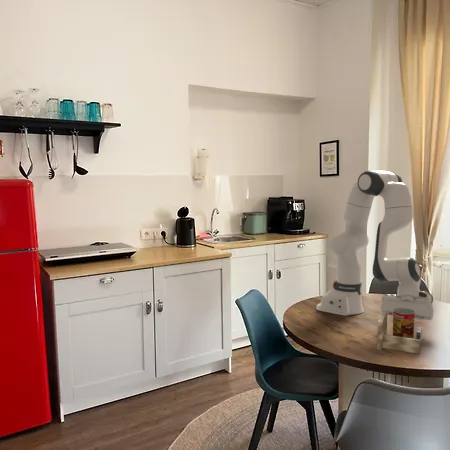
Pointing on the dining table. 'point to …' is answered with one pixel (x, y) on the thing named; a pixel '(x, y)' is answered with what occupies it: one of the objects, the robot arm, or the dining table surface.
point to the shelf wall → (394, 338)
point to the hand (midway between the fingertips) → (405, 325)
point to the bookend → (419, 334)
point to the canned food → (403, 322)
